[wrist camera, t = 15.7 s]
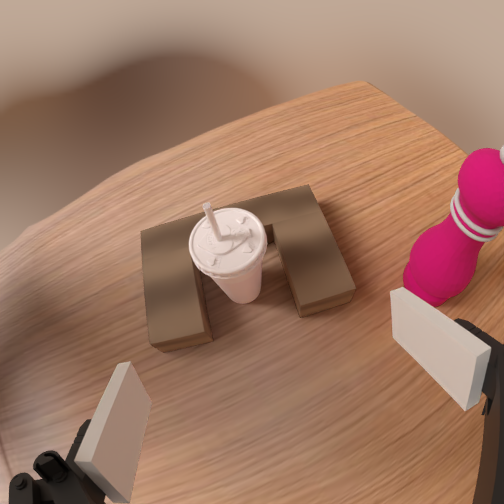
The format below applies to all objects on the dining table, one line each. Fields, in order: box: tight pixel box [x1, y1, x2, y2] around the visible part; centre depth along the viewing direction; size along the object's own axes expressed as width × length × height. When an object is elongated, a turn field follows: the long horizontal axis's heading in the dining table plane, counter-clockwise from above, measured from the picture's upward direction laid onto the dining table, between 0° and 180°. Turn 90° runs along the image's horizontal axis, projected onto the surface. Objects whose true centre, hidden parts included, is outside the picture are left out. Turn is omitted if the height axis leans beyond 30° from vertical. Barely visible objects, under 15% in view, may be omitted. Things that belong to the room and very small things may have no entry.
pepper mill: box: [403, 145, 504, 307], centre depth 22 cm, size 7×7×20 cm
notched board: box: [141, 184, 356, 353], centre depth 33 cm, size 14×20×4 cm
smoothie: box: [189, 203, 267, 304], centre depth 27 cm, size 6×6×14 cm
